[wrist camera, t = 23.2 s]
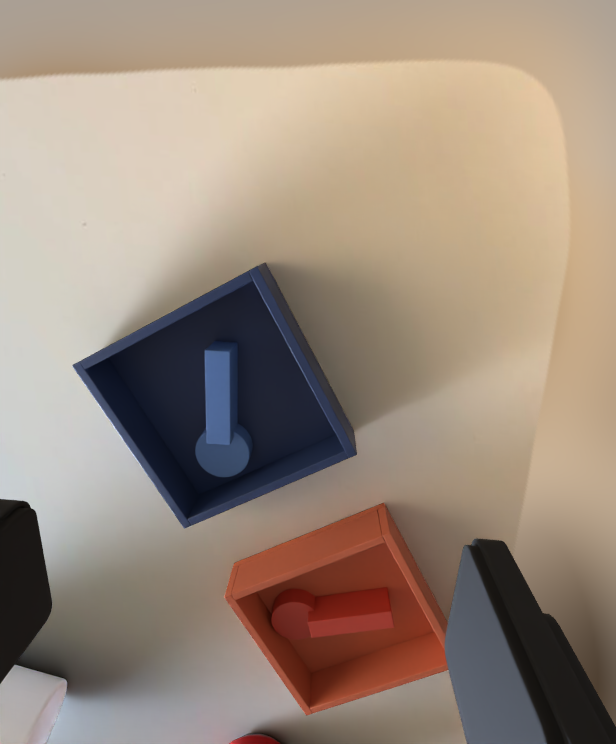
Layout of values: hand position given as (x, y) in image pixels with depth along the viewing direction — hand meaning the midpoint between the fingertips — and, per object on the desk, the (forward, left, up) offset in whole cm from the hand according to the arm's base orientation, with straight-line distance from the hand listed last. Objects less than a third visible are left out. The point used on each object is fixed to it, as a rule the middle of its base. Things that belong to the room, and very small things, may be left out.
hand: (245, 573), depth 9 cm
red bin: (+7, +20, -21) cm, 30 cm away
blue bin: (+6, +1, -21) cm, 22 cm away
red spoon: (+8, +20, -20) cm, 30 cm away
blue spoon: (+7, +2, -20) cm, 22 cm away
